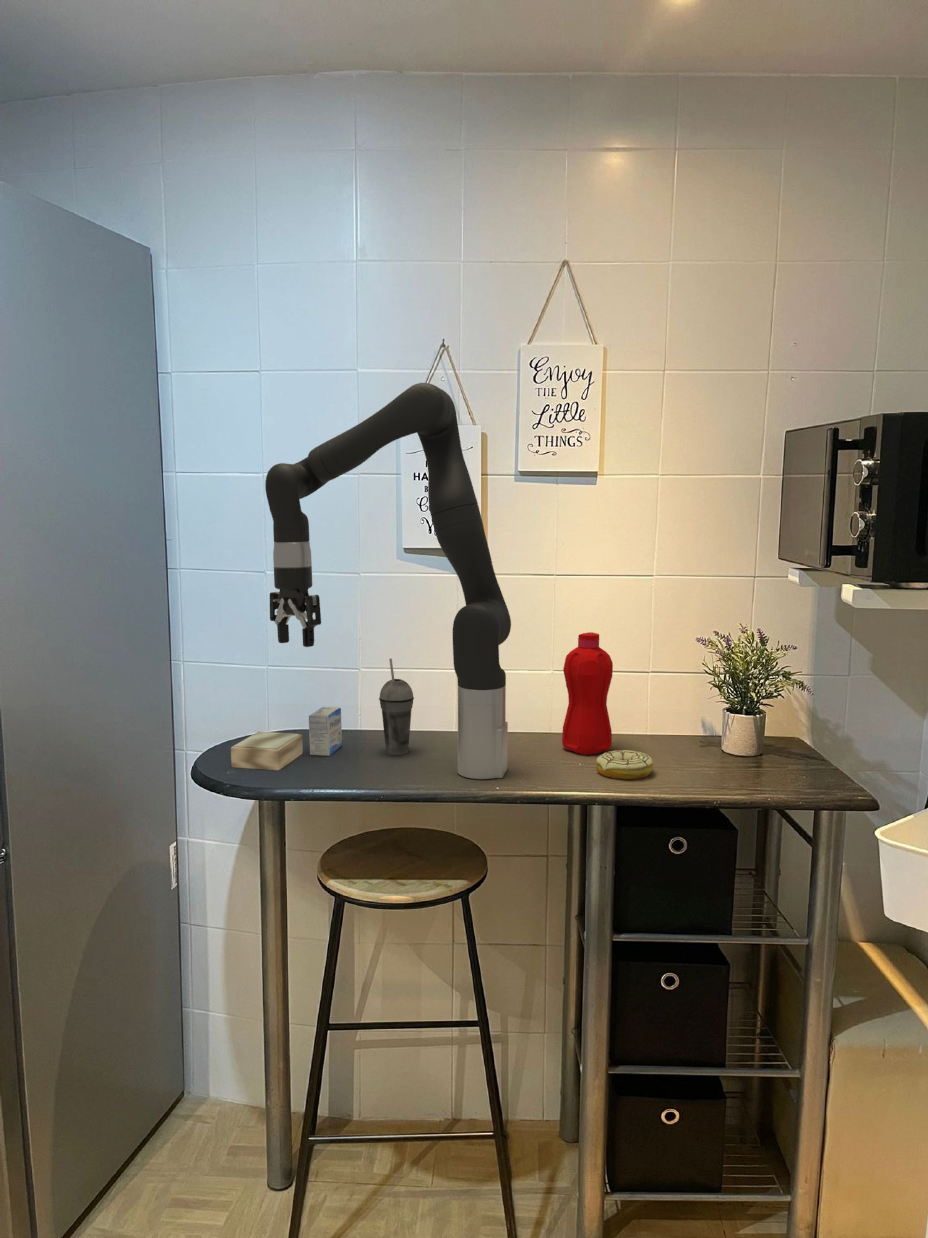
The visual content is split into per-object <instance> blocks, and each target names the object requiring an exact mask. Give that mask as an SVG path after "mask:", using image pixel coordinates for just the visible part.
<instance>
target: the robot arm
mask: <svg viewBox="0 0 928 1238" xmlns="http://www.w3.org/2000/svg"><path fill="white" fill-rule="evenodd" d="M414 434H417V436H418V439H419V441H420V444H421V447H422V450H423V453H424V456H425V460H426V465H427V477H428V482H427V483H428V484H427V485H428V487H427V489H428V491H427V494H428V495H427V497H428V507H429V508H428V509H429V514H430V517H431V521H432V525H433V528H434V533H435V536H436V539H437V542H438V545H439V546H440V548H441V551H442V552H443V553H444V555H445V556H446V559H447V560H448V562H449V563H450V565H451V566H452V568H453V570H454V572H455V573H456V575H457V577H458V580H459V582H460V585H461V588H462V593H463V597H464V603H465V606H462V607H461V608H460V609H459V610H458V611H457V613H456V614H455V617H454V619H453V624H452V658H453V661H452V662H453V669H454V673H455V675H456V677H457V774H459V775H460V776H461V777H463V778H468V779H474V780H490V779H503V778H504V776H505V775H506V773H507V770H508V744H509V743H508V742H509V741H508V739H509V738H508V730H509V728H508V721H506V716H507V715H506V711H507V710H506V709H507V708H506V707H507V706H506V704H507V703H506V702H507V701H506V698H507V697H506V696H507V695H506V693H507V692H506V691H507V687H506V686H507V676H506V671H505V670H504V669H503V668H502V667H501V664H500V645H502V644H503V643H504V642H506V640H507V639H508V637H509V636H510V633H511V628H512V619H511V616H510V612H509V608H508V606H507V602H506V601H505V598H504V596H503V593H502V591H501V588H500V587H501V586H500V584H499V581H498V579H497V576H496V571H495V570H494V565H493V561H492V556H491V553H490V549H489V545H488V539H487V537H486V533H485V527H484V522H483V520H482V519H483V518H482V515H481V511H480V505H479V504H478V503H479V502H478V499H477V495H476V493H475V491H474V486H473V482H472V479H471V475H470V472H469V470H468V467H467V464H466V461H465V458H464V454H463V449H462V443H461V438H460V430H459V424H458V417H457V409H456V407H455V403H454V400H453V399H452V397H451V395H449V393H447V391H445V390H444V389H443V388H440V387H438V386H436V385H434V384H433V383H428V382H418V383H415V384H412V385H411V386H409V387H408V388H407V389H405V390H404V391H402V392H401V393H400V394H399V395H397V396H396V397H395V398H394V399H392V400H391V401H390V402H388V403H387V404H386V405H385V406H384V407H382V408H380V409H379V410H378V411H376V412H375V413H373V414H371V415H370V416H369V417H368V418H366V419H364V420H363V421H361V422H359V423H358V424H356V425H354V426H353V427H350V428H349V429H347V430H345V431H343V432H342V433H340V434H337V435H336V436H334V437H332V438H331V439H328V440H326V441H325V442H323V443H321V444H319V445H318V446H315V447H314V448H312V449H311V450H310V451H309V453H308V454H307V457H305V458H303V459H301V460H300V461H298V462H296V463H293V464H292V463H285V462H284V463H283V462H281V463H277V464H274V465H273V466H272V467H270V469H269V470H268V471H267V474H266V475H265V476H266V478H265V483H264V485H265V495H266V499H267V504H268V507H269V512H270V514H271V517H272V521H273V522H272V523H273V526H272V527H273V529H272V530H273V550H272V551H273V552H272V554H273V555H272V556H273V557H272V560H273V561H272V562H273V563H272V564H273V581H274V582H273V583H274V588H275V589H276V590H279V591H273V592H272V591H271V592H270V593H269V620H270V621H271V622H274V624H275V625H276V627H277V641H278V643H279V644H286V643H289V642H290V631H289V630H290V629H289V628H290V627H289V624H288V623H289V621H290V619H291V617H293V616H295V618H296V620H297V621H298V620H299V621H300V624H301V626H302V628H301V629H302V631H301V632H302V646H303V647H304V648H309V647H310V648H311V647H313V646H314V645H315V627H316V626H319V625H321V624H322V617H321V616H322V614H321V601H320V599H321V598H320V596H319V594H310V595H309V589H311V588H312V587H313V570H312V569H313V566H312V549H311V542H310V524H309V523H310V522H309V518H308V516H307V515H306V514H305V513H304V512H303V511H302V507H301V506H302V505H301V501H300V500H301V499H304V498H307V497H308V496H310V495H312V494H314V493H315V492H317V491H318V490H319V489H320V488H322V487H324V486H325V485H326V484H328V482H331V481H333V480H335V479H337V478H338V477H341V476H343V475H344V474H347V473H349V472H351V471H353V470H354V469H356V468H357V467H359V466H360V465H362V464H363V463H365V462H366V461H368V460H369V459H370V458H371V457H372V456H373V455H375V454H376V453H377V452H378V451H379V450H381V449H382V448H384V447H385V446H387V445H389V444H390V443H392V442H394V441H397V440H398V439H401V438H404V437H408V436H410V435H414ZM314 616H315V617H314Z"/></svg>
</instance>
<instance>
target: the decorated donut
mask: <svg viewBox="0 0 928 1238" xmlns="http://www.w3.org/2000/svg"><path fill="white" fill-rule="evenodd" d="M653 762H654V761H653V759H652V758H651V757H650V756H649V755H648V754H646V753H644V752H641V751H638V750H637V751H636V750H630V749H629V750H628V749H623V750H610V751H605V752H603V754H600V755H599V756H598V757H597V758H596V770H597V773H598V774H600V775H602V776H604V777H606V778H607V777H608V778H612V779H615V780H616V779H620V780H637V779H638V780H639V779H644V778H647V777H648V776H649V775H650V774H651V773H652V771H653V769H654V763H653Z"/></svg>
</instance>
